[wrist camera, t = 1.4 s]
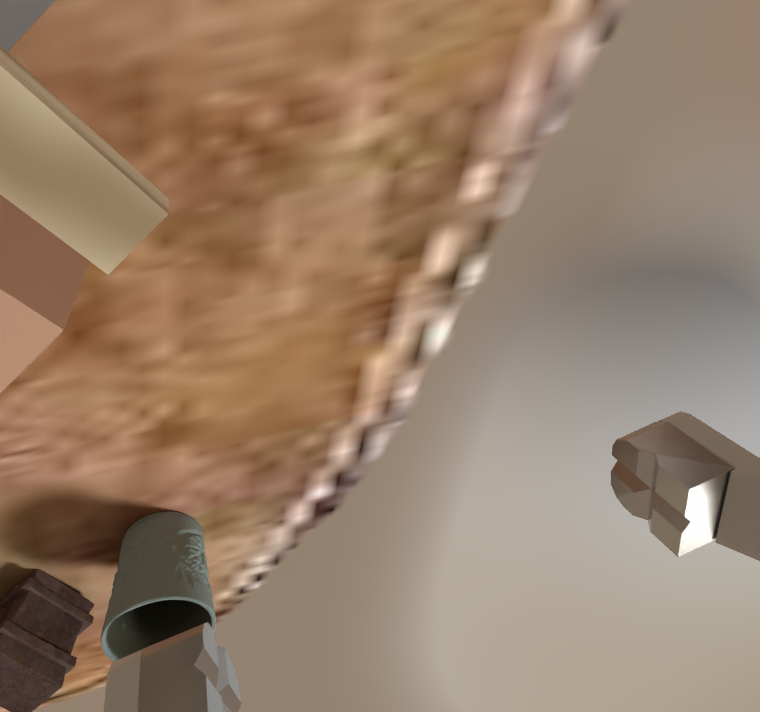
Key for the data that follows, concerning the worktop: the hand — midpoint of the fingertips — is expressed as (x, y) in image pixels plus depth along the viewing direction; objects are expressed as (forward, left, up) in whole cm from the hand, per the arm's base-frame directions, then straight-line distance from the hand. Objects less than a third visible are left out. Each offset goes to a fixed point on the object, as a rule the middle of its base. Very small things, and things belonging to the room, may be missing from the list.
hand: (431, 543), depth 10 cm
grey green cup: (+35, +23, -42) cm, 59 cm away
